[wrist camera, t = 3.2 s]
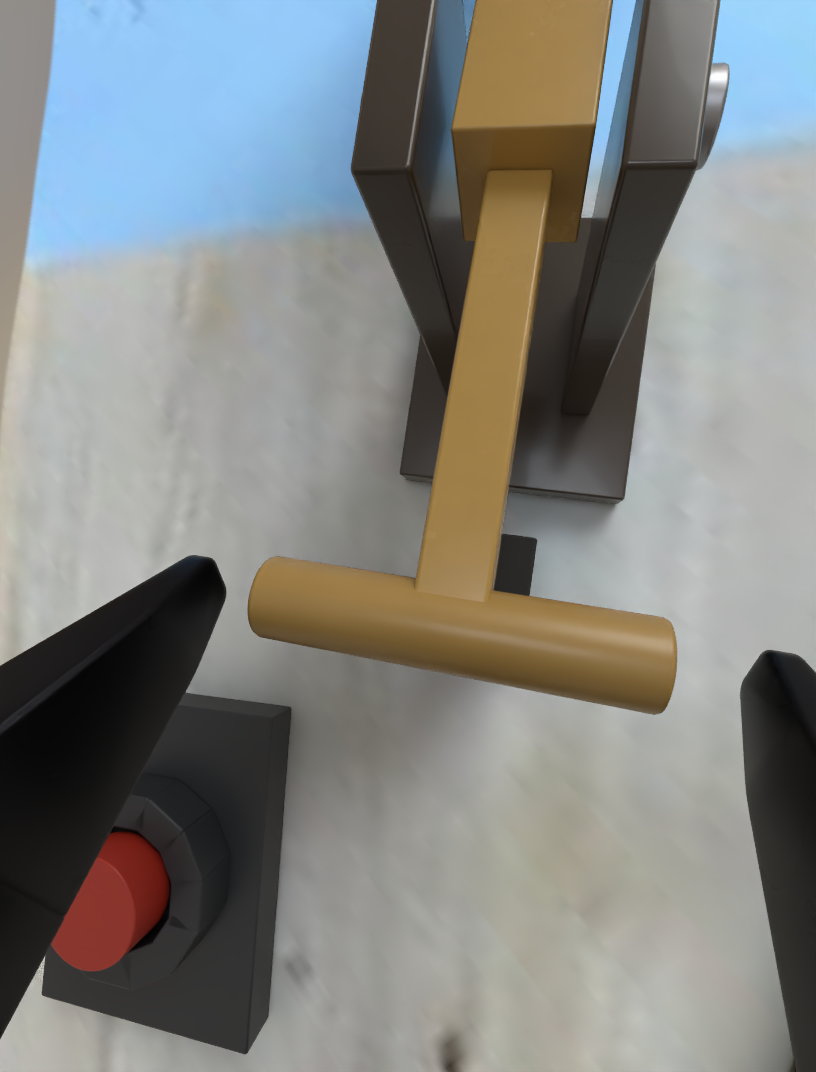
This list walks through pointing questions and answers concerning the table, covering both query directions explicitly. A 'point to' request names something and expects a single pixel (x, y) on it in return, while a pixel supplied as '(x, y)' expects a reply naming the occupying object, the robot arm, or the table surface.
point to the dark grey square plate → (202, 878)
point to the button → (114, 904)
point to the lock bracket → (568, 268)
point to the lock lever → (492, 400)
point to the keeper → (515, 564)
